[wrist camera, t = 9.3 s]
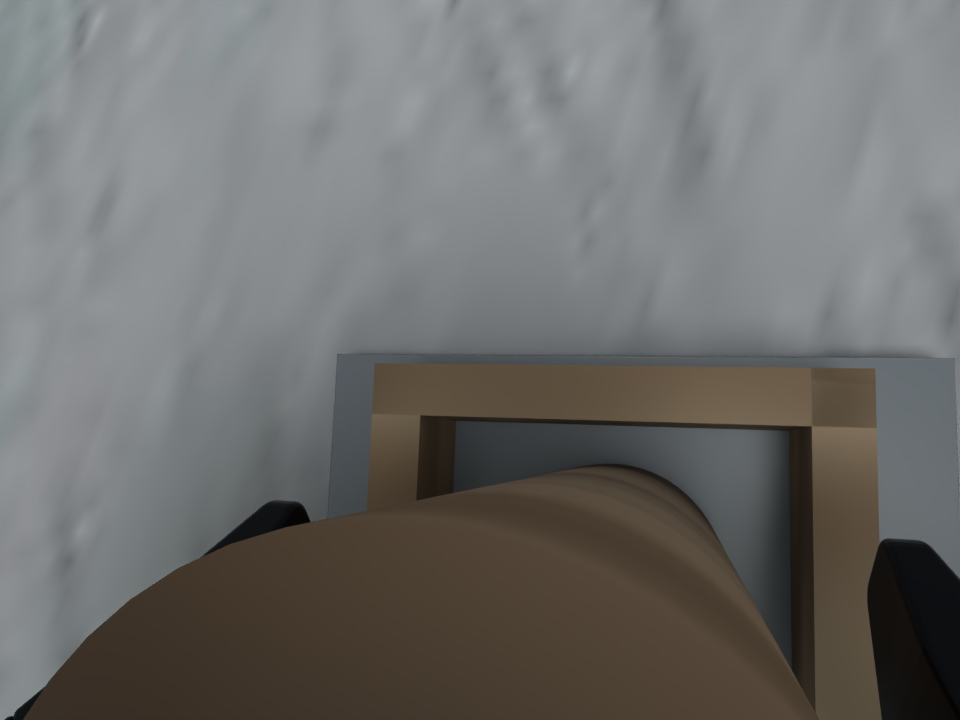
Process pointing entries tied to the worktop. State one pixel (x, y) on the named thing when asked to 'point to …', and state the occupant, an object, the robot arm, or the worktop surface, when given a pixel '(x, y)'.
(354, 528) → the walnut peg
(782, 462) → the keyhole plate
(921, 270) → the worktop surface
